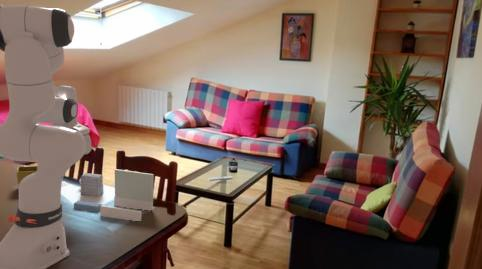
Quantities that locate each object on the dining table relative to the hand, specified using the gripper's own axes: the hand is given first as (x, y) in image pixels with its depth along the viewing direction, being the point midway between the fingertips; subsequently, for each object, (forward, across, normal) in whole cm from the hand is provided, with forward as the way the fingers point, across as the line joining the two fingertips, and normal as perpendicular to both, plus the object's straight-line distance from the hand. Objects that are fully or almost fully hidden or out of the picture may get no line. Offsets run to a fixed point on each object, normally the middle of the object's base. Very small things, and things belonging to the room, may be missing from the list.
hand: (64, 162), depth 152 cm
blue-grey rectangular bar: (+18, +10, 0) cm, 20 cm away
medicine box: (+18, +3, +15) cm, 23 cm away
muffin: (+18, -3, +21) cm, 27 cm away
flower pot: (+18, -24, +11) cm, 32 cm away
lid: (+8, +26, +6) cm, 28 cm away
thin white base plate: (+17, +26, +1) cm, 31 cm away
